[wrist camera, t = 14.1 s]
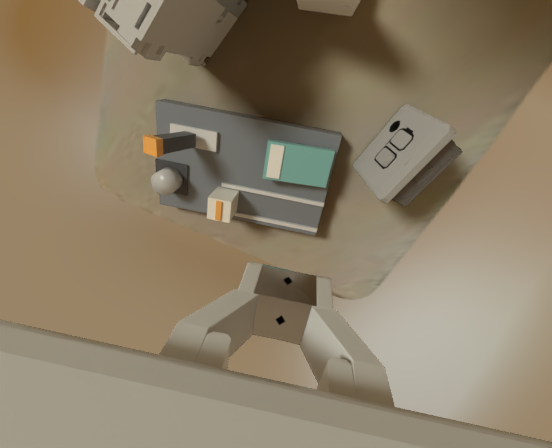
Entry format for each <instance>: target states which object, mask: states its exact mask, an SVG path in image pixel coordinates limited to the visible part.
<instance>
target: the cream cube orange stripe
mask: <svg viewBox="0 0 552 448" xmlns="http://www.w3.org/2000/svg"><path fill="white" fill-rule="evenodd" d="M238 197H239V191H238V190H233V189H228V188H223V187H217V188H216V189H215V190H214V191H213V192H212V193H211V194H210V195H209V197H208V205H207V219H212V220H217V221H222V222H227V223H230V221H231V220H232V218H233V216H234V215H235V213H236V211H237V207H238Z"/></svg>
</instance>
